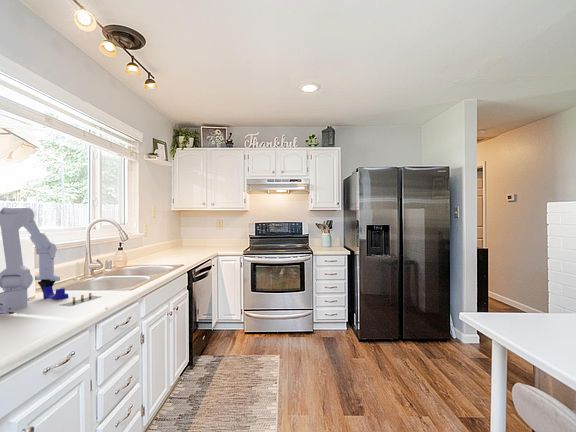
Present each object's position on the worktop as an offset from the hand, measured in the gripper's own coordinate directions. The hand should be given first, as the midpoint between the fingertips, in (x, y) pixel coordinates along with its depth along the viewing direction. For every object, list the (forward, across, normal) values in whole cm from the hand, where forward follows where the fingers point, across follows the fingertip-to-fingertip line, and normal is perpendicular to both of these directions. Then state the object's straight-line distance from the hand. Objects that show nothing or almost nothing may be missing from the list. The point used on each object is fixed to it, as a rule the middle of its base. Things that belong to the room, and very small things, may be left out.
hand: (46, 295), depth 150 cm
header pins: (0, -26, +3) cm, 26 cm away
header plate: (+1, -26, +3) cm, 26 cm away
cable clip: (+2, -8, +2) cm, 8 cm away
